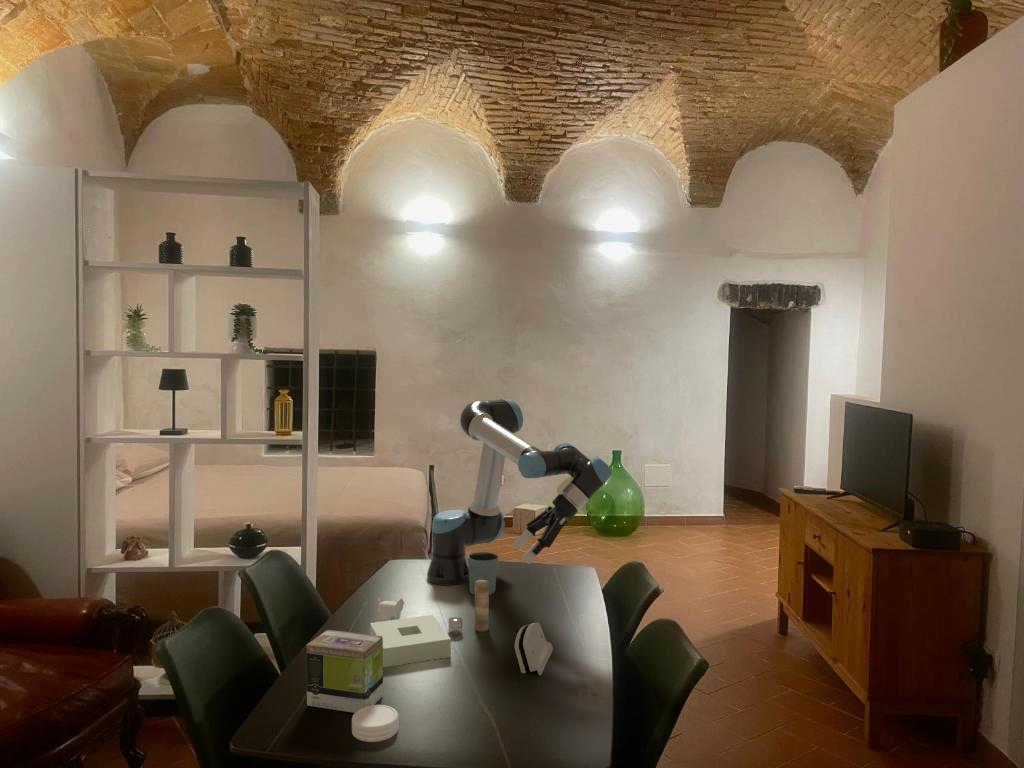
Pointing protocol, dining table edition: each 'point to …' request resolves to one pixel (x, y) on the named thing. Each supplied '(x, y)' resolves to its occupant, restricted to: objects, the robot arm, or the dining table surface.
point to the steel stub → (455, 626)
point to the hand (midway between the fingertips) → (519, 554)
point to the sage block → (412, 640)
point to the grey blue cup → (482, 569)
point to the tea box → (344, 670)
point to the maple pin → (481, 605)
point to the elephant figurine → (389, 609)
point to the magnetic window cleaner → (532, 648)
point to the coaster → (375, 723)
